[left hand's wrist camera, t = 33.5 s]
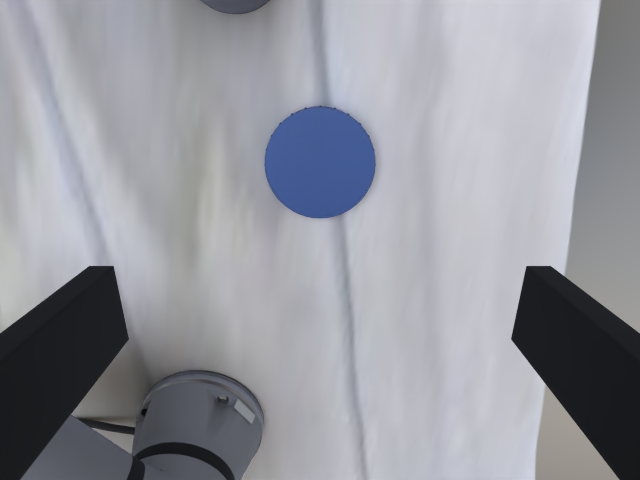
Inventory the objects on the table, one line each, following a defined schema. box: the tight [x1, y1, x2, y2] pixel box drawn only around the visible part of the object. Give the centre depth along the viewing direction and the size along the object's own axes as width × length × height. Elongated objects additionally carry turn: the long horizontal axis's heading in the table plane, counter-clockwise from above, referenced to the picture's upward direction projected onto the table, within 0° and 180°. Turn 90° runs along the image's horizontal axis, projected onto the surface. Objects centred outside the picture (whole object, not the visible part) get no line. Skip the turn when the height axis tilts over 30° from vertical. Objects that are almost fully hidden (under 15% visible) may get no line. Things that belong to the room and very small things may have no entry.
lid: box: [265, 106, 375, 218], centre depth 37 cm, size 10×10×2 cm
